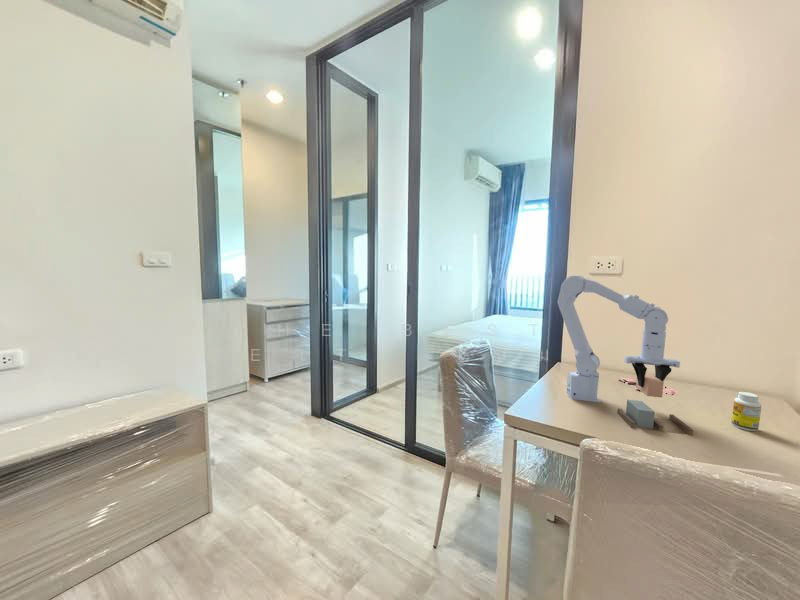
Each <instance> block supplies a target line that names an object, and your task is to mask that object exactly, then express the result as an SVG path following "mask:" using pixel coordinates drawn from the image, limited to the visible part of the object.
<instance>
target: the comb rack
mask: <svg viewBox="0 0 800 600" xmlns="http://www.w3.org/2000/svg"><path fill="white" fill-rule="evenodd" d="M616 413H617V414H618V416H619V417H620V418H621V419H622V420H623V421H624V423H626V424H627V425H628V426H629V427H630V428H633V429H639V430H641V429H642V430H648V431H656V432H665V433H673V434H679V435H680V434H681V435H687V436H694V429H693V428H691V427H690V426H689V425H687V424H686V423H685V422H683V421H682V420H681V419H680V418H678V416H675V415H674V414H671V413H670V414H669V417H668V418H665V417H664V418H663V417H656V416H654V425H653V429H652V428H644V427H637V426H636V425H635V422H634V421H633V420H632V419H631V418H630V417H629V416H628V415H627V414H626V411H624V410H623V408H617V411H616Z"/></svg>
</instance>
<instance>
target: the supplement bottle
mask: <svg viewBox="0 0 800 600" xmlns="http://www.w3.org/2000/svg"><path fill="white" fill-rule="evenodd" d="M761 412H762V403H761V402H759V396H758V394H754V393H752V392H748V391H747V392H745V391H739V392H738V395H737V397H735V398H734V399H733V405H732V415H731V425H732V426H733V427H736V428H738V429H741V430H744V431H747V432H749V431H750V432H757V431H758V430H759V427H760V420H761Z"/></svg>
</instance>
